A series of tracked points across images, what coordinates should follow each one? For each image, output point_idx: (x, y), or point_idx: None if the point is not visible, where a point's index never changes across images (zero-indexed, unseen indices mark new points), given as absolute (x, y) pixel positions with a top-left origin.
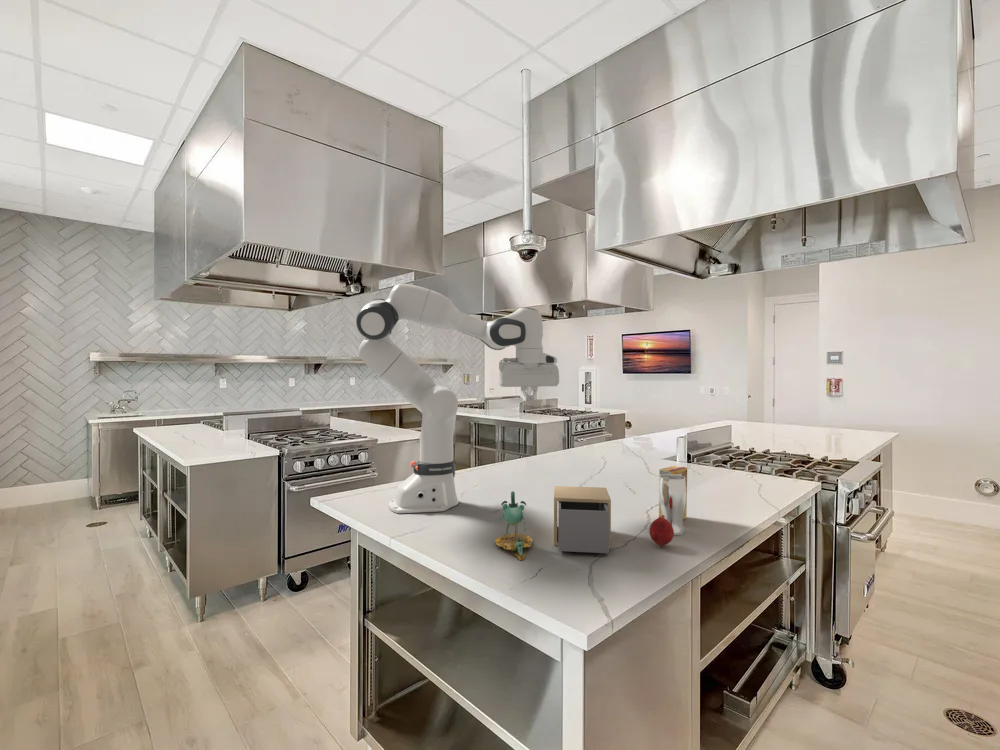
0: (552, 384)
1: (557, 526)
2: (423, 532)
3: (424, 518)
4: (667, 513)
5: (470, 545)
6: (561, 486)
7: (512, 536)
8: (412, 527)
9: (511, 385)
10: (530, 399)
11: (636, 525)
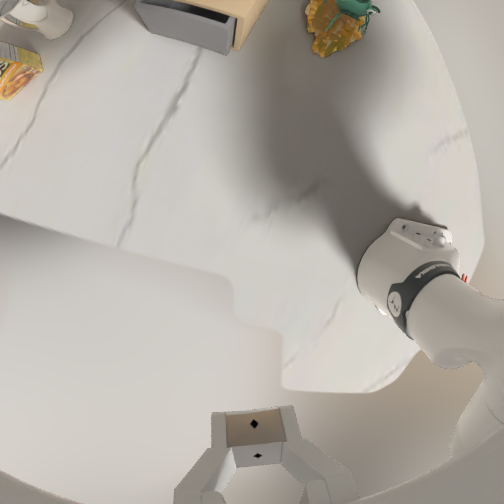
0: (13, 490)
1: (233, 47)
2: (438, 130)
3: (427, 193)
4: (57, 3)
5: (392, 49)
6: (228, 11)
7: (335, 27)
8: (446, 158)
9: (489, 445)
10: (250, 414)
11: (85, 49)
